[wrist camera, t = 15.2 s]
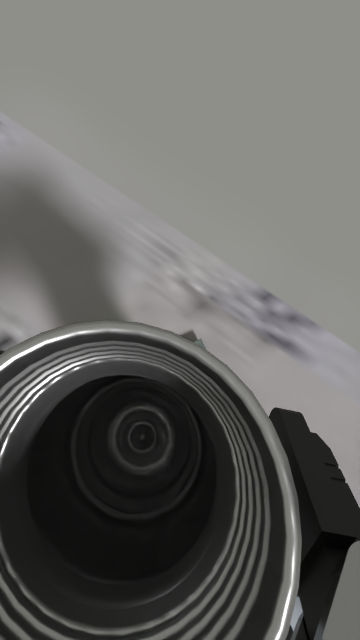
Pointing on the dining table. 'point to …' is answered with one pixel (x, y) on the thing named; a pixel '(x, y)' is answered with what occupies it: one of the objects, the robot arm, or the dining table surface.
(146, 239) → the dining table surface
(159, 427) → the silver metal bottle
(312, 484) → the robot arm
